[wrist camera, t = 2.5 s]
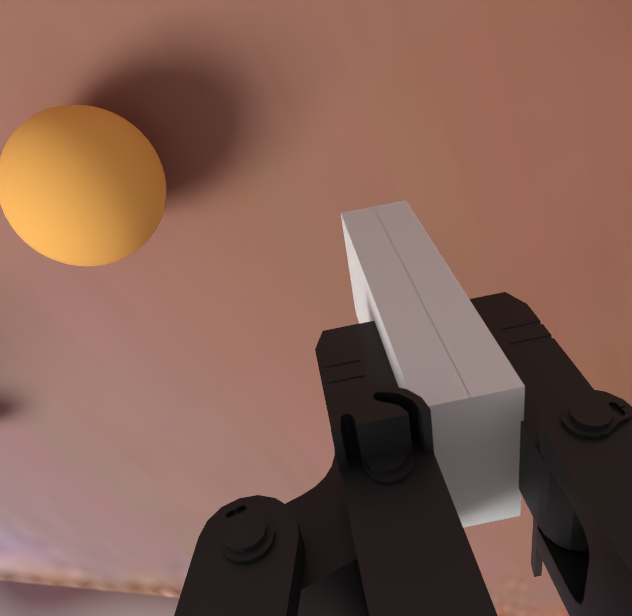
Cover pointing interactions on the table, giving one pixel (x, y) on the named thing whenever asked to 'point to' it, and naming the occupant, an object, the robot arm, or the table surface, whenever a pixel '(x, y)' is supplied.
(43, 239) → the ball
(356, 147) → the table surface
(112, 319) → the table surface
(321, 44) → the table surface
